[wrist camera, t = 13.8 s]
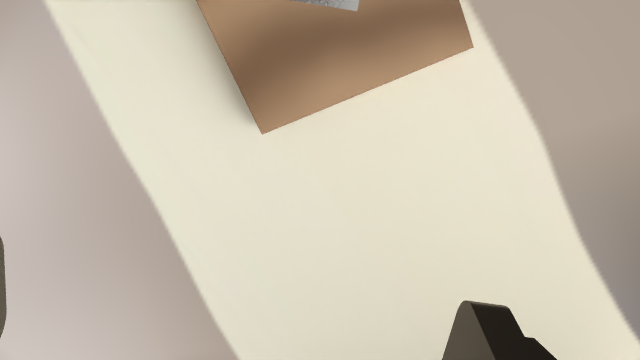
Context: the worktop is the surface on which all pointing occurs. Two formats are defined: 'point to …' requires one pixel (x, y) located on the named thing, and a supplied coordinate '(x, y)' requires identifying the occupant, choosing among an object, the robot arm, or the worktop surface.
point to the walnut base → (327, 49)
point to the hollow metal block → (335, 3)
